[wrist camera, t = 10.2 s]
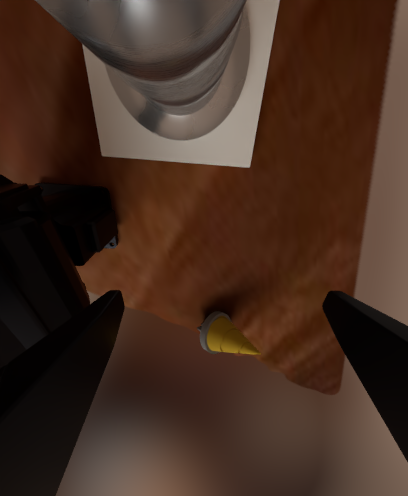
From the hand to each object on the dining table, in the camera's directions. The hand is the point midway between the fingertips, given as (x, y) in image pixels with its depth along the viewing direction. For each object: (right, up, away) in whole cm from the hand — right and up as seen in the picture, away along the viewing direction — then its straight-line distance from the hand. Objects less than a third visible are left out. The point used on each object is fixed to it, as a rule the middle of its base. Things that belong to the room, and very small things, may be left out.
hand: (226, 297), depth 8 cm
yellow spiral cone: (+1, -7, +19) cm, 20 cm away
